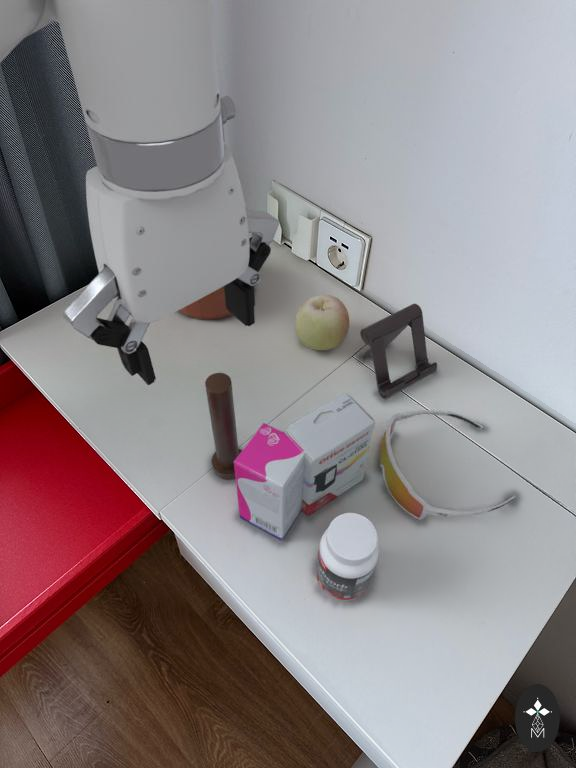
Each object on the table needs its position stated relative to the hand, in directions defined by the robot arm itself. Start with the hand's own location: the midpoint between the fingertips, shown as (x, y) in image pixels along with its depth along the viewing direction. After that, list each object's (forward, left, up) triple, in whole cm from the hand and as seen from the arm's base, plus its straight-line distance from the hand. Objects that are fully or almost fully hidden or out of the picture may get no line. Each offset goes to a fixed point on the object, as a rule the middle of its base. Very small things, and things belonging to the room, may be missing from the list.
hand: (193, 343), depth 47 cm
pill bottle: (+13, -10, -25) cm, 30 cm away
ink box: (+12, +1, -25) cm, 28 cm away
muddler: (+1, +4, -25) cm, 25 cm away
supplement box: (+6, -2, -25) cm, 26 cm away
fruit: (+14, +24, -25) cm, 37 cm away
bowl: (-2, +35, -25) cm, 43 cm away
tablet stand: (+23, +18, -25) cm, 39 cm away
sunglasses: (+26, +2, -25) cm, 36 cm away
